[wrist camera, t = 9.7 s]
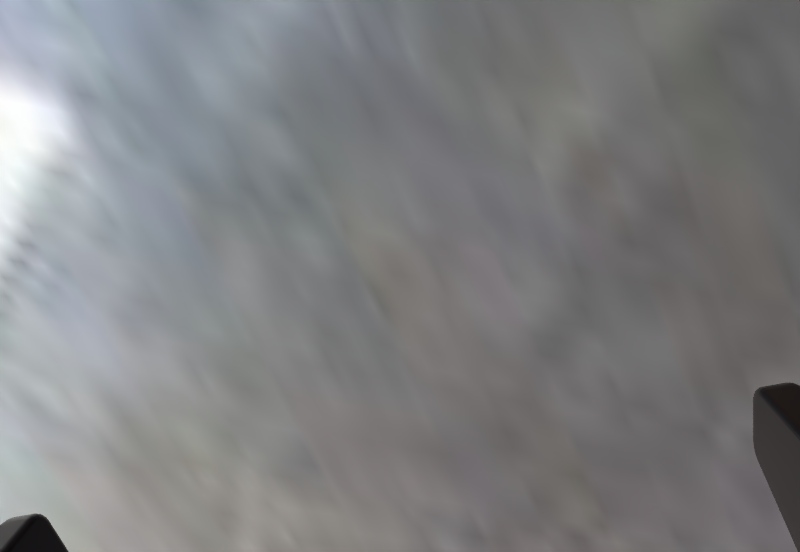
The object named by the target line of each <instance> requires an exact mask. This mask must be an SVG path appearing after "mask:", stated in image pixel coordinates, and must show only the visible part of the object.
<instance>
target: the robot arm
mask: <svg viewBox="0 0 800 552" xmlns="http://www.w3.org/2000/svg"><path fill="white" fill-rule="evenodd" d="M753 442H754V449H755V453H756V456H757V459H758V462H759V464H760V466H761V469H762V471H763V473H764V476H765V478H766V480H767V482H768V485H769V487H770V489H771V491H772V494H773V496H774V498H775V501H776V503H777V505H778V507H779V510H780V512H781V514H782V516H783V519H784V521H785V523H786V525H787V528H788V530H789V532H790V535H791V537H792V539H793V541H794V544H795V546H796V548H797V550H798V552H800V386H799V385H797V384H794V383H782V384H776V385H770V386H765V387H760V388H758V389H757V390H756V391H755V394H754V397H753ZM0 552H68V550H67V549H66V547H65V545H64V544H63V542H62V541H61V539H60V538H59V536H58V534H57V533H56V531H55V530H54V528H53V527H52V525H51V523H50V522H49V520H48V519H47V518H46V517H44V516H43V515H41V514H30V515H24V516H19V517H14V518H11V519H8V520H6V521H5V522H4V523H2V524H1V525H0Z"/></svg>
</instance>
